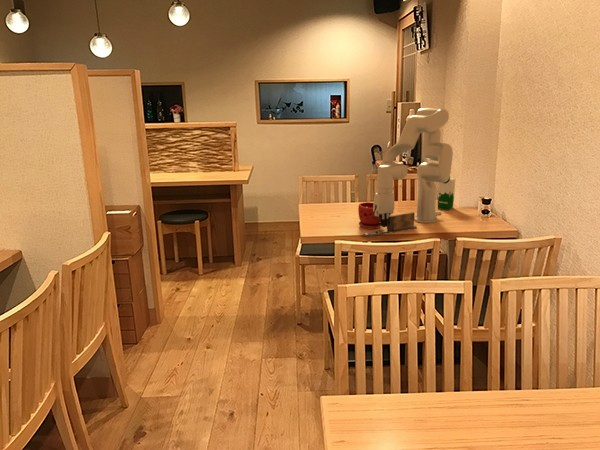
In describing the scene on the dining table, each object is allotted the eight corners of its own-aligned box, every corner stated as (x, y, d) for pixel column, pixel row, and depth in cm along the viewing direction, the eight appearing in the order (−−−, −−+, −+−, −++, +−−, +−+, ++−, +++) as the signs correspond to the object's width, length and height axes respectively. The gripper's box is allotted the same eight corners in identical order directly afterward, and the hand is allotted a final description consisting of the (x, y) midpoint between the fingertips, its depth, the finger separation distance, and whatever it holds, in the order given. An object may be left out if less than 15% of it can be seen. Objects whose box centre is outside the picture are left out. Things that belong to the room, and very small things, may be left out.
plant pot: (370, 231, 252) (371, 209, 249) (352, 226, 262) (353, 204, 259) (388, 227, 260) (389, 205, 256) (370, 222, 270) (371, 200, 267)
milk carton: (435, 209, 295) (437, 175, 290) (440, 205, 302) (442, 173, 297) (450, 210, 291) (452, 177, 285) (454, 207, 298) (457, 174, 292)
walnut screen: (411, 224, 259) (412, 211, 257) (414, 225, 257) (415, 212, 255) (386, 229, 252) (387, 215, 250) (389, 230, 250) (390, 216, 248)
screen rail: (412, 226, 260) (413, 224, 260) (416, 228, 257) (416, 226, 257) (363, 235, 246) (363, 233, 246) (366, 237, 244) (366, 235, 244)
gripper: (392, 187, 250) (391, 222, 255) (367, 190, 244) (366, 226, 249) (401, 190, 244) (400, 226, 249) (376, 193, 237) (375, 230, 242)
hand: (383, 226), depth 249 cm, fingers closed
